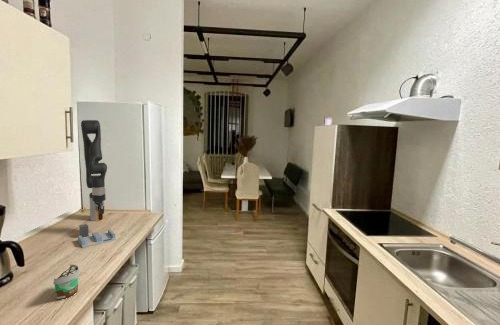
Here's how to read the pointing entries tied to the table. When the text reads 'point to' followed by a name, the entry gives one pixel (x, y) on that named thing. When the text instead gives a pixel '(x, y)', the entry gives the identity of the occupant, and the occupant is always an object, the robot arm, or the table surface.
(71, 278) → the food container
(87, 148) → the robot arm
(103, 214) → the orange plug
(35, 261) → the table surface
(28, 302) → the table surface
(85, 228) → the black plug
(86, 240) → the comb board
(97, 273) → the table surface
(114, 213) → the table surface
